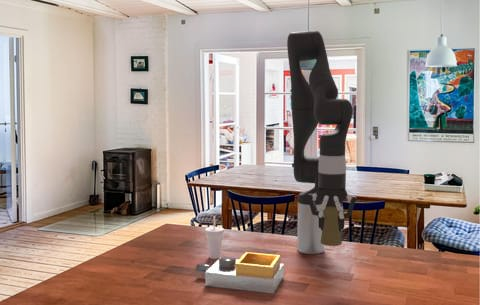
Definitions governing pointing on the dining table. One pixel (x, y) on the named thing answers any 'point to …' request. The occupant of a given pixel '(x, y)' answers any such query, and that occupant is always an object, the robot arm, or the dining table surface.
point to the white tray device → (245, 272)
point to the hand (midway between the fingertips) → (331, 230)
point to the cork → (331, 227)
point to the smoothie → (214, 240)
